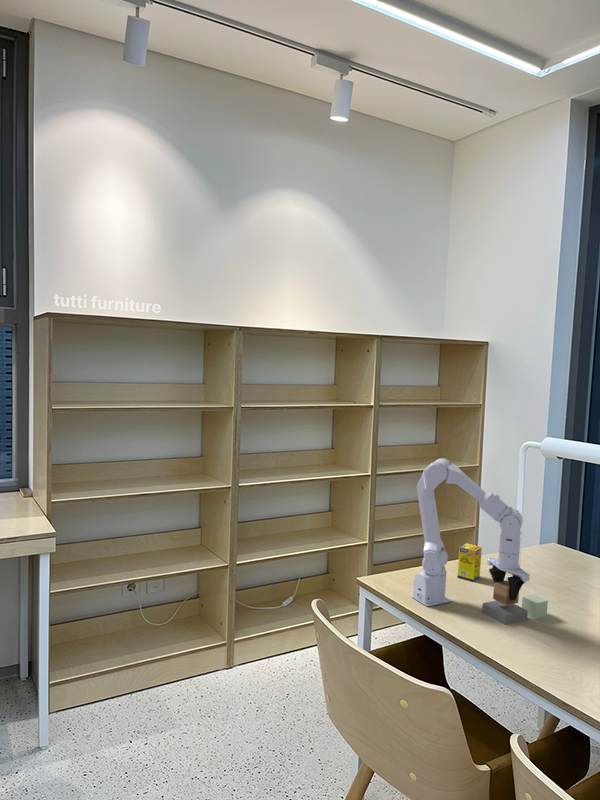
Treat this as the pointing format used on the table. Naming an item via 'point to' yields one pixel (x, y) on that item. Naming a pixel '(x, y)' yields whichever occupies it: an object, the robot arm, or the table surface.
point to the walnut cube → (503, 593)
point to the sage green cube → (535, 606)
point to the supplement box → (469, 562)
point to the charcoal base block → (504, 612)
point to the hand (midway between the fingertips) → (505, 596)
